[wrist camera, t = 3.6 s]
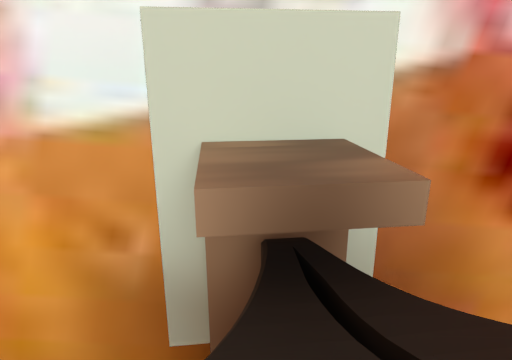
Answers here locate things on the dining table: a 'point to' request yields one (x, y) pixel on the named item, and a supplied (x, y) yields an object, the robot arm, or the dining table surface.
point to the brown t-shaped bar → (290, 207)
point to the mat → (254, 112)
